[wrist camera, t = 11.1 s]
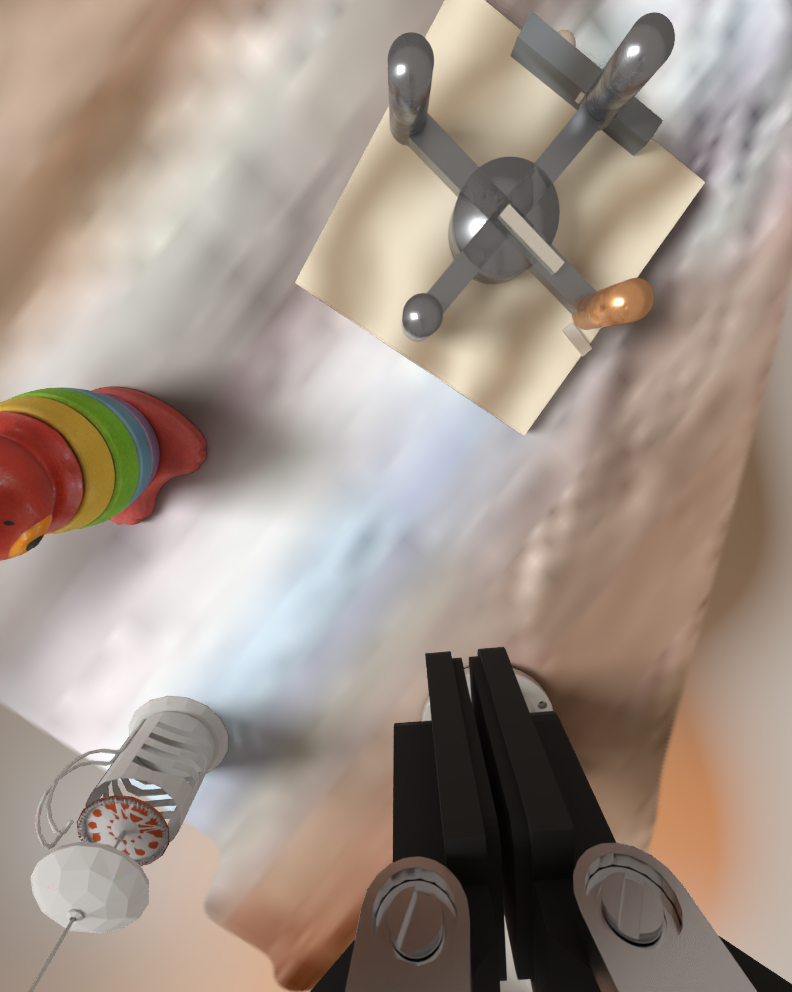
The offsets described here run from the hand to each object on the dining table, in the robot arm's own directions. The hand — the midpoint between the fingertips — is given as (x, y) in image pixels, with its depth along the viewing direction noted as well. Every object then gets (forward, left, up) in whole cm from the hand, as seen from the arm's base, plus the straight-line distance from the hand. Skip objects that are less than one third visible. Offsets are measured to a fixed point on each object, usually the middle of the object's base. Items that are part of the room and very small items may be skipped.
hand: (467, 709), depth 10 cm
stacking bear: (+20, +12, -29) cm, 37 cm away
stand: (+4, -16, -29) cm, 33 cm away
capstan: (+4, -16, -27) cm, 32 cm away
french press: (+5, +36, -29) cm, 47 cm away
